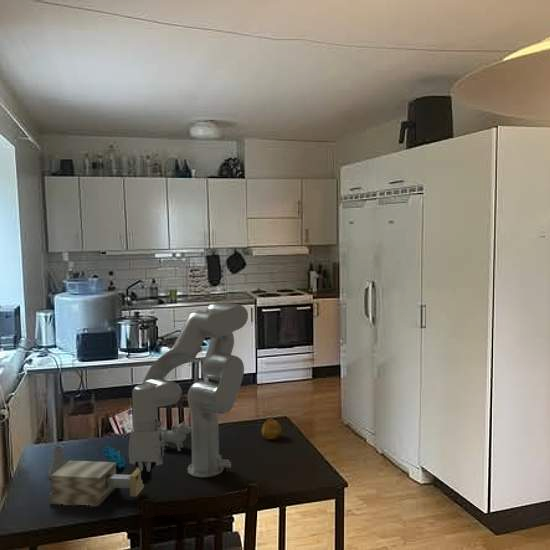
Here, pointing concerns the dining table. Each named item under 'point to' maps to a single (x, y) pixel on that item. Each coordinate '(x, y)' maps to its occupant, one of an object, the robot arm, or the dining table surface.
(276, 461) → the dining table surface
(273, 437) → the fruit
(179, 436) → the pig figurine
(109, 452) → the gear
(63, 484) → the block
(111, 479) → the shaft
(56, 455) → the flask
